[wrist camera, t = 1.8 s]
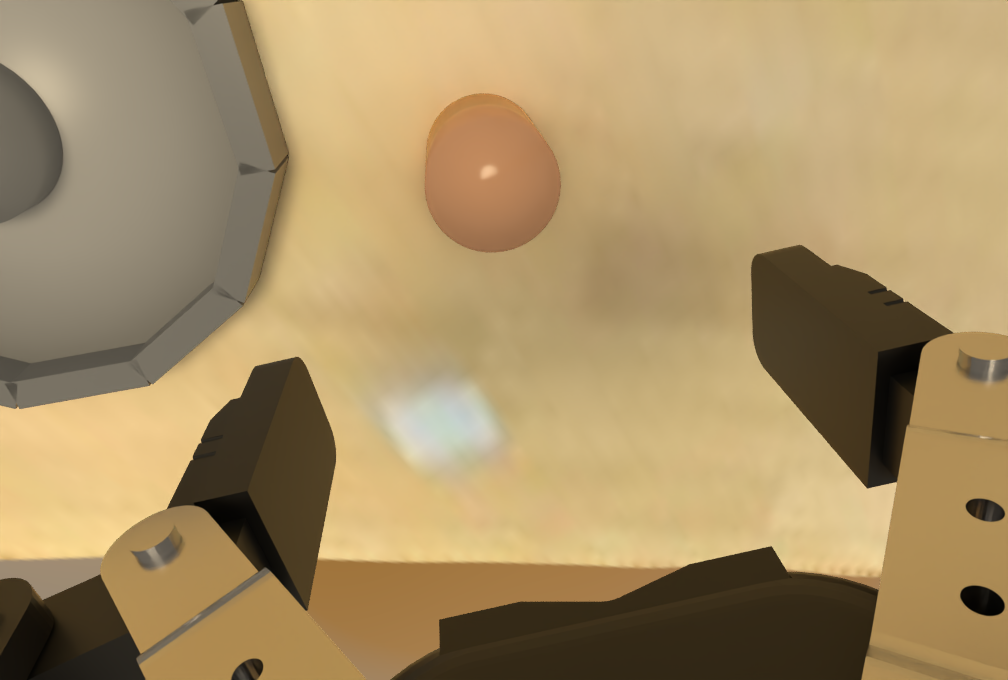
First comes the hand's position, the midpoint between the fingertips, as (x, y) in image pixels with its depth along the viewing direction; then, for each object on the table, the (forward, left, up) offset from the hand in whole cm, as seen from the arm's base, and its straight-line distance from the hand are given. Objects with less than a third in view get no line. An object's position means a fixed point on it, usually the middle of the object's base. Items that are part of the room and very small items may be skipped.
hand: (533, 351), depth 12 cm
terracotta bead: (0, 0, -16) cm, 16 cm away
